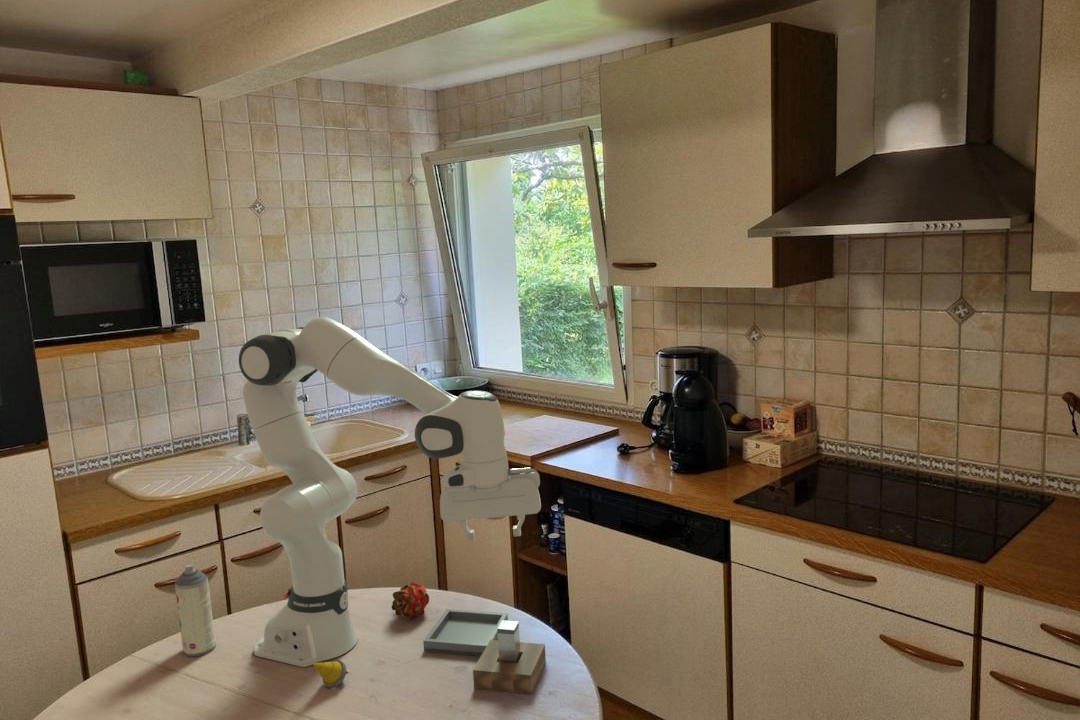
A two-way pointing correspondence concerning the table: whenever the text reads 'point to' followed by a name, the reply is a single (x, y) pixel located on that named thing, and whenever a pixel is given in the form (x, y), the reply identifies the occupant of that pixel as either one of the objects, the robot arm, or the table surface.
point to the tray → (464, 632)
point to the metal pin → (509, 642)
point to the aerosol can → (195, 612)
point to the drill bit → (331, 672)
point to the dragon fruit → (410, 600)
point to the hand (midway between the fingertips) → (494, 537)
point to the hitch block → (510, 669)
